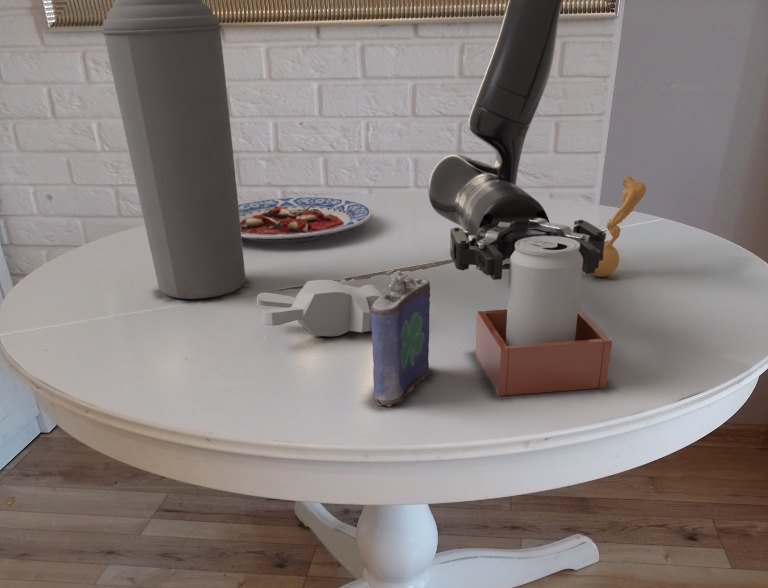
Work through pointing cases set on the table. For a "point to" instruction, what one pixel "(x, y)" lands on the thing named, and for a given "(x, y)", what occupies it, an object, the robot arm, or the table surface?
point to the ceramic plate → (299, 218)
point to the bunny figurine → (323, 307)
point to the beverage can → (543, 290)
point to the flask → (400, 337)
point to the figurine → (629, 201)
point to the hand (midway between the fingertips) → (545, 265)
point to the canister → (179, 141)
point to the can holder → (542, 358)
